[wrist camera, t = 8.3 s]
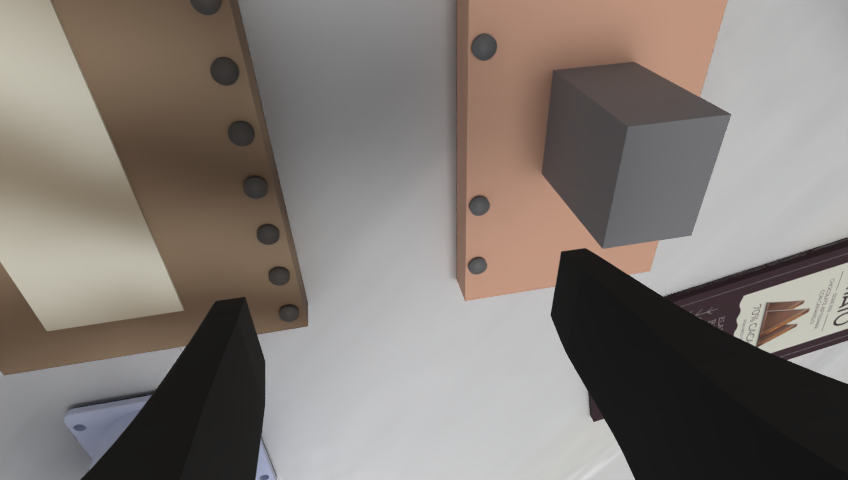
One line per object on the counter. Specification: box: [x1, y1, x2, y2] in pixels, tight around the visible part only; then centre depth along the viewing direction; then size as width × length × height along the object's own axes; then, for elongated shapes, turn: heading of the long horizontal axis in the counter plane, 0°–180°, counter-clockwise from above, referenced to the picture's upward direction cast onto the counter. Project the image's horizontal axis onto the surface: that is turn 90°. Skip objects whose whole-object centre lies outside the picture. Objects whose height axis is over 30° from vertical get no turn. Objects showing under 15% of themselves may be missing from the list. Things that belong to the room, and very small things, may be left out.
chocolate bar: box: [589, 238, 848, 422], centre depth 30 cm, size 9×1×18 cm
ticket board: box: [0, 0, 308, 375], centre depth 17 cm, size 16×12×2 cm
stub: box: [457, 0, 731, 301], centre depth 17 cm, size 16×9×6 cm, turn 2°
